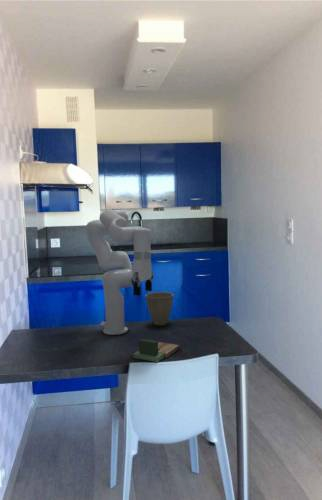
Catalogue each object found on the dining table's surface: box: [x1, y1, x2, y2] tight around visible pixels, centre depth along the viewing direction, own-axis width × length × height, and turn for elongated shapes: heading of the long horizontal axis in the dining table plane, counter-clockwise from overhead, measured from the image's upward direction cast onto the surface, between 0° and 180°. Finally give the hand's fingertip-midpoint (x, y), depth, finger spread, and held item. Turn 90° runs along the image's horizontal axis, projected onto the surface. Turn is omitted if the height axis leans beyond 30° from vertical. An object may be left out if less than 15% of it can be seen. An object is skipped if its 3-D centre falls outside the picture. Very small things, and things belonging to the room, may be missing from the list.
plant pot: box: [145, 291, 174, 326], centre depth 242 cm, size 15×15×16 cm
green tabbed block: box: [132, 338, 165, 363], centre depth 193 cm, size 12×9×8 cm
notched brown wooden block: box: [158, 341, 180, 358], centre depth 200 cm, size 14×12×2 cm
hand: (142, 293), depth 204 cm, fingers open, 9 cm apart
